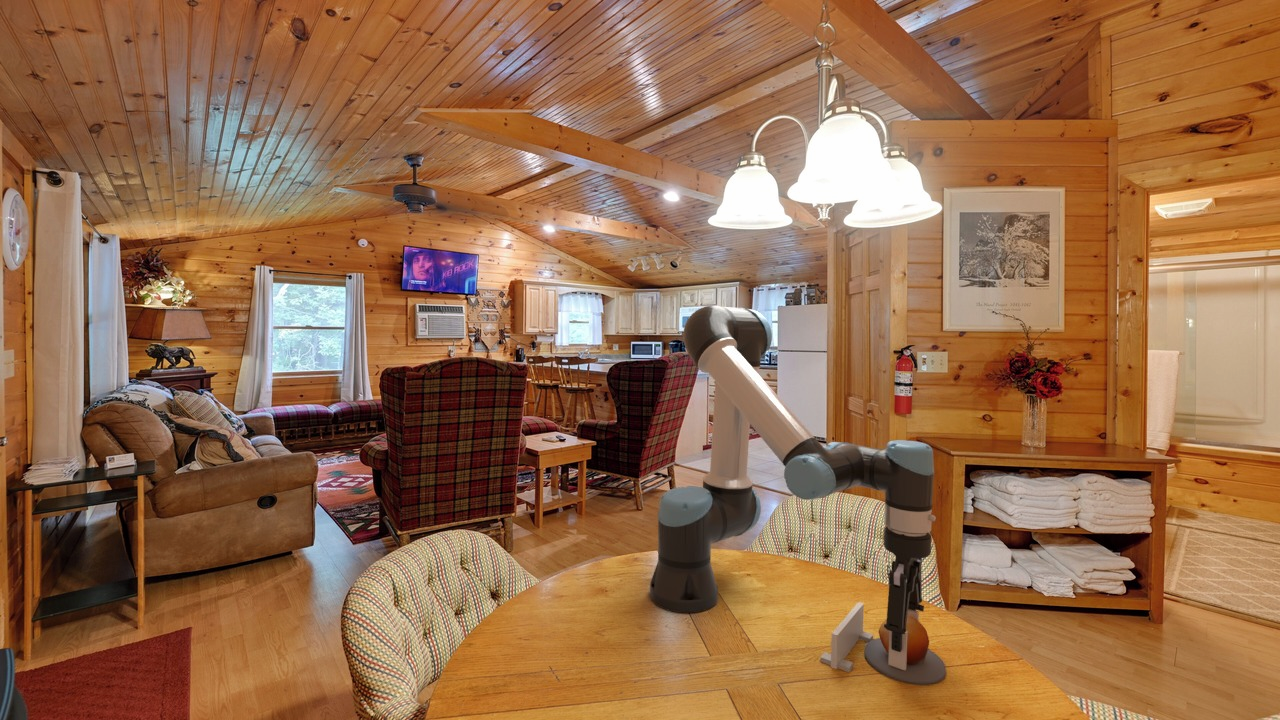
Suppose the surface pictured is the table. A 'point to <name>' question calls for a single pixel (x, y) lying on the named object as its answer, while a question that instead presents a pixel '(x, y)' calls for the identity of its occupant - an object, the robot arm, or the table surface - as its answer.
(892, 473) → the robot arm
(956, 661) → the table surface
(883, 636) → the fruit
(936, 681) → the mat
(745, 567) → the table surface
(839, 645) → the wall
